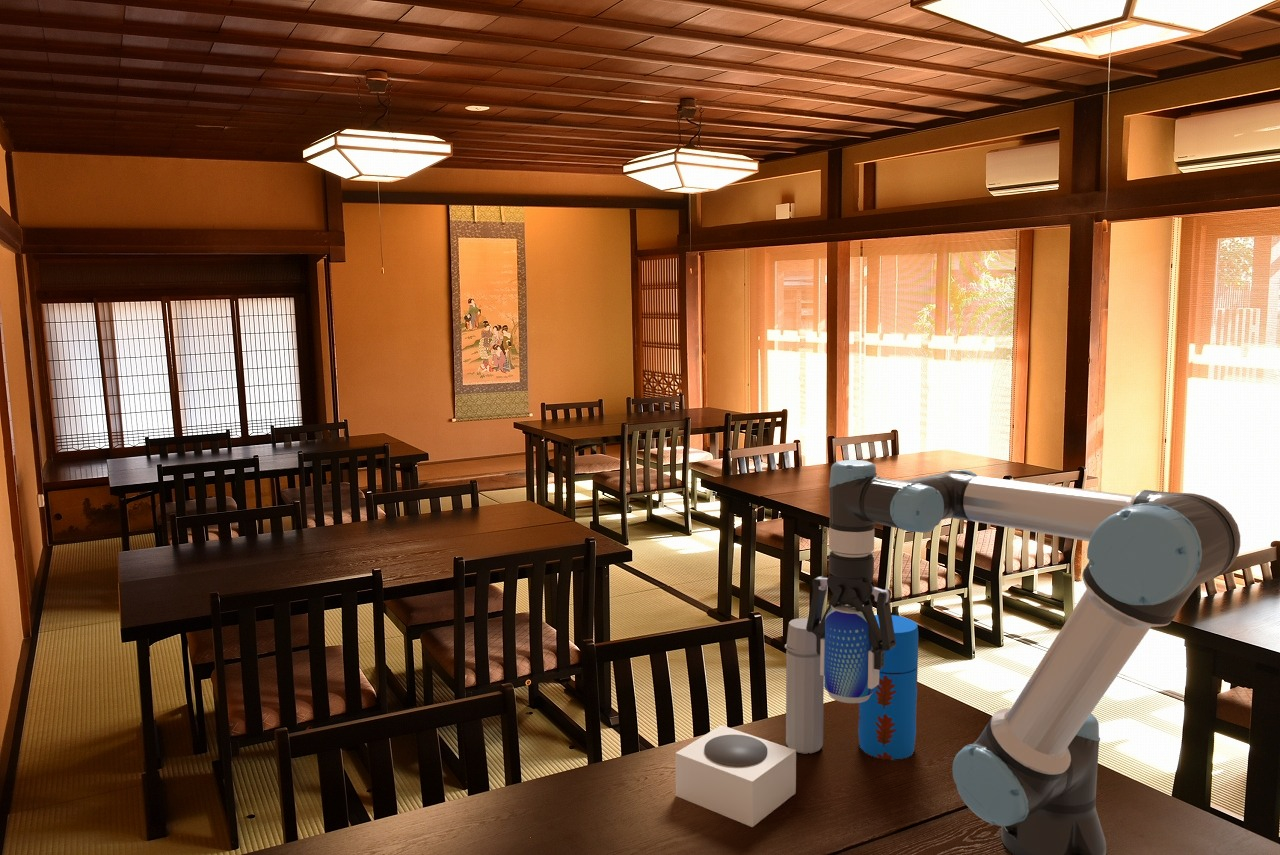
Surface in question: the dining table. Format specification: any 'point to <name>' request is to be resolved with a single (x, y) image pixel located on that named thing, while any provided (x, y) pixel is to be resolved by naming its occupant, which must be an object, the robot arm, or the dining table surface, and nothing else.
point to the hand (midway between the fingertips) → (849, 679)
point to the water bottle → (803, 690)
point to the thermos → (893, 698)
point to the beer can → (847, 655)
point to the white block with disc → (736, 774)
